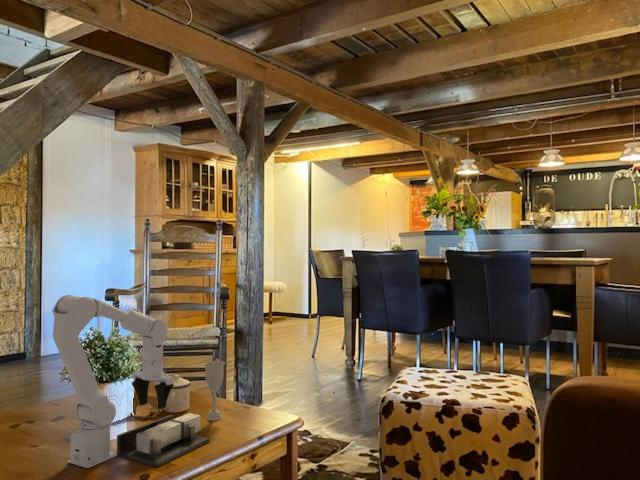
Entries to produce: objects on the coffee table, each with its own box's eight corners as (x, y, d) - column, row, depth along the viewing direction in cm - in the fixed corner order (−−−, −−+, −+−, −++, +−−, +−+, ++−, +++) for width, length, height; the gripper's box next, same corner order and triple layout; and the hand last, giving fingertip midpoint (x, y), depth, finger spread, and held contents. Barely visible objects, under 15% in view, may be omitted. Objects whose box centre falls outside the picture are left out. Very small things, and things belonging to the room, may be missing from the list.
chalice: (222, 421, 170) (222, 365, 170) (201, 421, 170) (201, 365, 170) (226, 414, 177) (227, 360, 178) (206, 414, 177) (206, 360, 178)
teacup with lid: (165, 405, 188) (166, 372, 188) (192, 404, 188) (192, 371, 188) (158, 416, 176) (158, 381, 176) (186, 415, 176) (186, 380, 176)
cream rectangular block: (148, 453, 139) (148, 436, 139) (136, 450, 141) (136, 433, 141) (200, 430, 157) (200, 415, 157) (189, 427, 159) (189, 412, 159)
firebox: (157, 467, 135) (157, 445, 135) (116, 455, 143) (117, 435, 143) (209, 441, 153) (209, 422, 153) (171, 432, 160) (171, 414, 160)
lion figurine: (119, 419, 173) (119, 391, 173) (119, 414, 178) (119, 387, 178) (166, 414, 178) (166, 387, 178) (165, 409, 183) (165, 383, 183)
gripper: (180, 359, 156) (180, 406, 156) (145, 354, 163) (145, 399, 163) (163, 364, 150) (162, 412, 149) (127, 359, 157) (126, 405, 156)
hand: (152, 406), depth 156 cm, fingers open, 7 cm apart
